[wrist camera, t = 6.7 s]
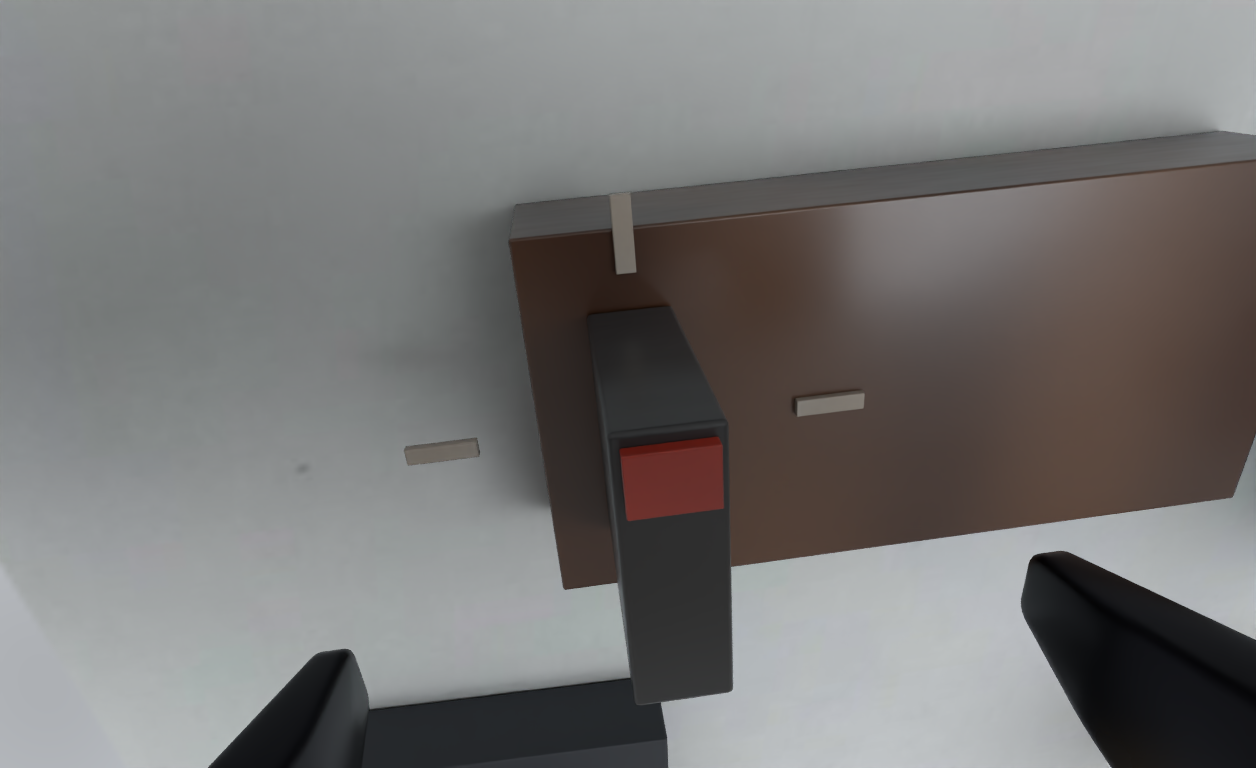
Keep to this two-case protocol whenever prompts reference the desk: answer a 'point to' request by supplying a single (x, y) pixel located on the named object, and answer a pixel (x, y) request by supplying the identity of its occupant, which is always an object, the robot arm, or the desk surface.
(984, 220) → the panel
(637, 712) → the black button base
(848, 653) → the desk surface
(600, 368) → the black box red panel
